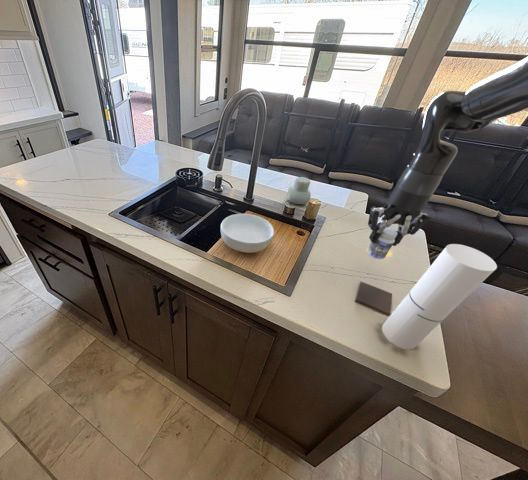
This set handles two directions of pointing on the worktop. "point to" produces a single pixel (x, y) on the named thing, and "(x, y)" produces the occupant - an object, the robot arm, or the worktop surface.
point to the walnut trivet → (374, 298)
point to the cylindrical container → (437, 294)
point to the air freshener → (299, 191)
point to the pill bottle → (382, 244)
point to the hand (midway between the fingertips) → (382, 242)
